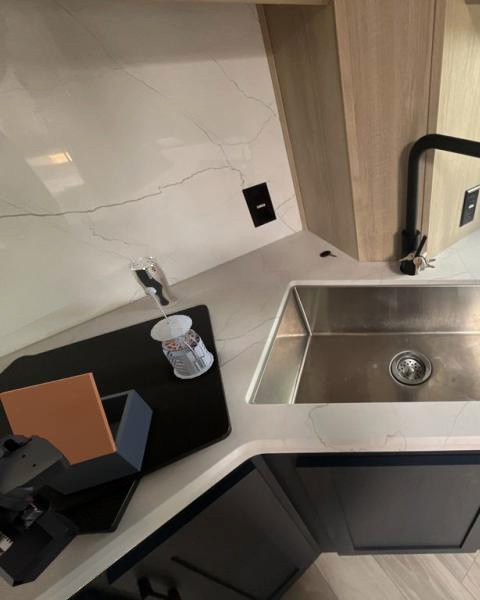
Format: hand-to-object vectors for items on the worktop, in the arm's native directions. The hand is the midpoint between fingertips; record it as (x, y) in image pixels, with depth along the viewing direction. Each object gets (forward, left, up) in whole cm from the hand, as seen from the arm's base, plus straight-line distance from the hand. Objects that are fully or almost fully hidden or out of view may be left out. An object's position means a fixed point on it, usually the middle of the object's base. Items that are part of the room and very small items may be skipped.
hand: (52, 509), depth 47 cm
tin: (+11, +11, -12) cm, 20 cm away
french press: (+33, +12, -12) cm, 37 cm away
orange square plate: (+9, +9, +3) cm, 13 cm away
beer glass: (+48, +39, -12) cm, 63 cm away
